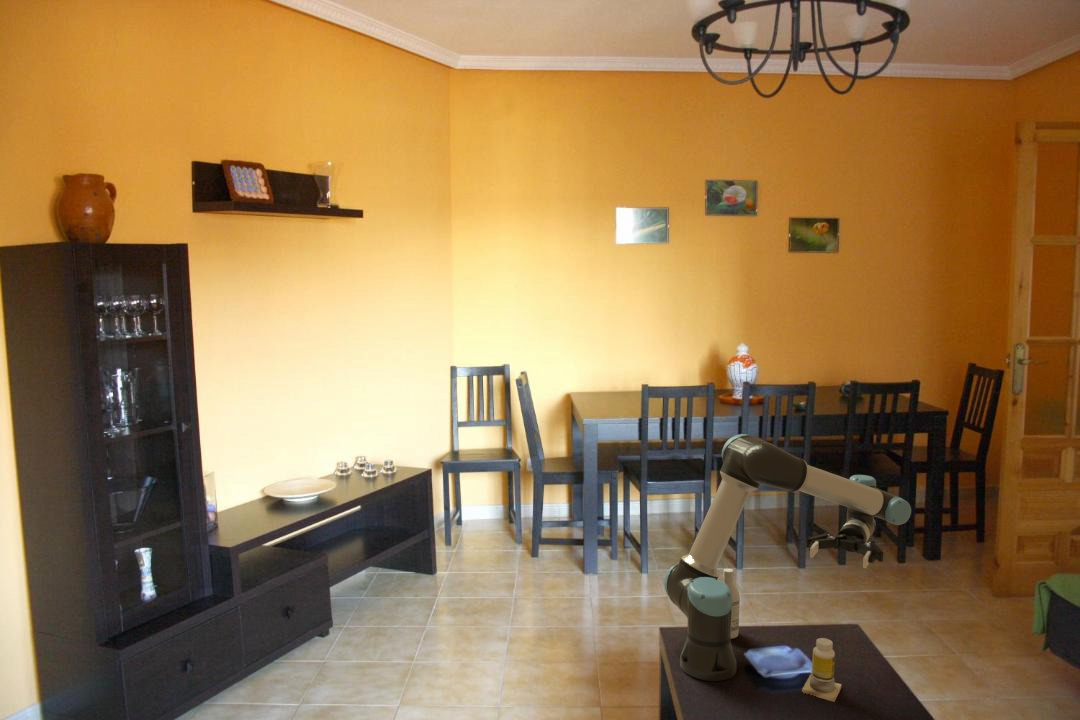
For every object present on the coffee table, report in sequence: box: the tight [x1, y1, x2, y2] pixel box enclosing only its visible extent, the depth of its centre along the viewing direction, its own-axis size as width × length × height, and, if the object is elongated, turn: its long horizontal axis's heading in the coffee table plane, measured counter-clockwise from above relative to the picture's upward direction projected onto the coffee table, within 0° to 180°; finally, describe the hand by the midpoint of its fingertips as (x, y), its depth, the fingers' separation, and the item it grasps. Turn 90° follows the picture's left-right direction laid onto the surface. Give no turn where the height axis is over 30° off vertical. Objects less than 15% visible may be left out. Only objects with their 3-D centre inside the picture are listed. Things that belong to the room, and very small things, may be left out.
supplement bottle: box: [811, 637, 836, 682], centre depth 198 cm, size 5×5×10 cm
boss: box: [801, 672, 842, 703], centre depth 199 cm, size 8×8×4 cm
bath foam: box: [722, 568, 741, 640], centre depth 229 cm, size 7×7×20 cm
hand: (837, 558), depth 206 cm, fingers open, 13 cm apart
